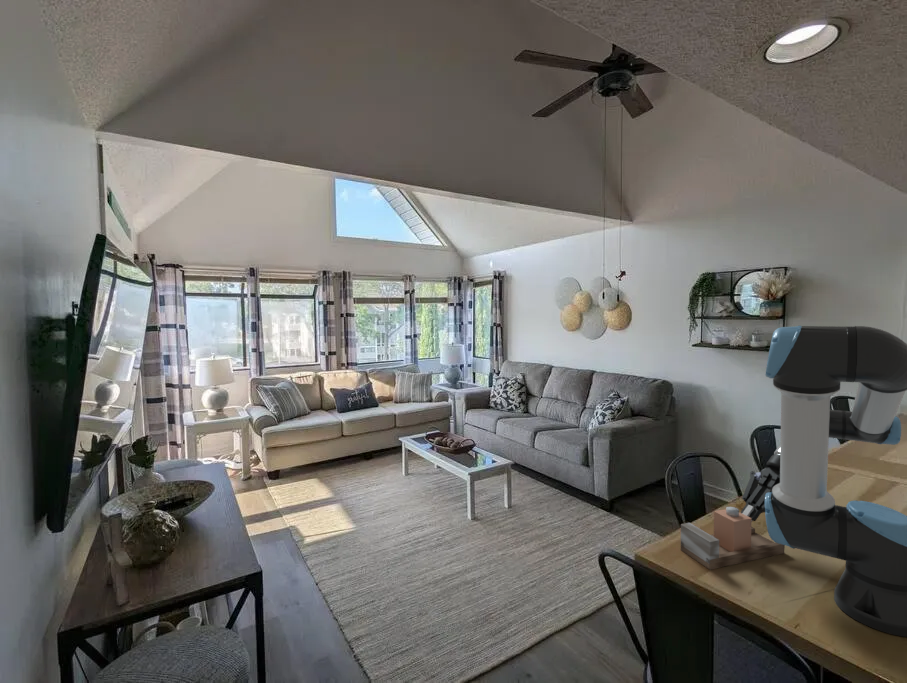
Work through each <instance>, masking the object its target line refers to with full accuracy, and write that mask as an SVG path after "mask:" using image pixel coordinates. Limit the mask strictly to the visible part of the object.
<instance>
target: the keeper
mask: <svg viewBox="0 0 907 683" xmlns="http://www.w3.org/2000/svg"><path fill="white" fill-rule="evenodd" d="M751 520H752V518H750V517H748V516H746V515H744V514H742V513H741V511H740V509H739V508H737V507H735V506H726V507H725V509H720V510H718V509H717V510H715V511H714V512H713V534H714V537H715V538H716V539H718V540H719V545H720V546H721V547H723V548H725V549H726V550H728V551H730V552H733V551H738V550H743V549H747V548H751V527H752V522H751Z"/></svg>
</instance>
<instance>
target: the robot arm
mask: <svg viewBox="0 0 907 683" xmlns="http://www.w3.org/2000/svg"><path fill="white" fill-rule="evenodd" d="M771 336H772V337H771V341H770V344H769V345H770V347H769V351H768V356H767V364H766V367H765V374H764V375H765V377H766V378H769V379H772V385H773V387H774V388H775V389H776V390H777V391H779V392H780V395H781V397H780V401H781V402H780V444H779V445H778V446H777V448H776V449H775V451H774V452H773V454H771V456H770V458H769V459H768V460H767V462H766V464H765V465H766V466H765V467H764V468H763V469H761V470H760V472H758V471H757V472H755V471H754V470H752V471H750V472H749V477H750V478H749V481H748V482H747V484H746V487H745V489H744V492H743V494H742V497H741V499H742V500H743V501H744V502H745V505H744V507H743V508H742V509H741V511H740V513H742V514H744V515H746V516H748V517H750V518H752V520H751V523H752V522H756V521H757V520H758V518H759V517H760V515H761V514H763V513H764V514H765V515H764V516H765V523H766V524H765V525H766V530H767V533H768V536H769V537H770V539H771V541H772V542H774V543H775V542H776V543H779V544H782V545H785V546H786V547H789V548H791V549H797V550H802V551H805V552H810V553H813V554H817V555H822V556H825V557H830V558H835V559H836V560H837V559H838V560H841V561H845V568H844V570H843V572H842V574H841V575H840V577H839V579H838V581H837V584H835V587H834V594H833V596H834V597H833V599H834V603H835V605H836V606H837V607H838V608H839V609H840V610H841V611H842V612H843V613H845V614H846V615H848V616H849V617H850V618H852V619H854V620H855V621H857V622H858V623H860V624H863V625H865V626H867V627H870V628H872V629H873V630H874V629H875V630H877V631H879V632H883V633H886V634H889V635H894V636H899V637H903V638H905V637H906V638H907V515H906V514H904V513H902V512H900V511H898V510H896V509H893V508H890V507H887V506H886V505H882V504H878V503H875V502H871V501H866V500H851V501H850V500H849V501H848V503H847V504H846V506H842V505H841V506H840V505H837V504H836V500H835V498H834V496H833V495H832V494H831V493H830V492H829V491H827V489H828V488H827V487H828V469H829V465H828V462H829V444H830V443H829V440H830V439H839V440H849V441H856V442H863V443H864V442H865V443H872V444H876V445H894V446H895V445H898V444H899V443H900V442H901V437H902V422H901V419H900V418H899V417H898V416H897V415H896V414H897V412H898V409H899V408H900V405H901V403H902V400H903V398H904V395H905V392H906V391H907V342H905V341H903V339H901V338H900V337H898V336H896V335H894V334H893V333H891V332H888V331H886V330H883V329H880V328H878V327H877V328H876V327H872V326H865V325H863V326H862V325H854V326H846V325H845V326H838V325H837V326H835V325H834V326H833V325H832V326H830V325H796V326H781V327H778V328H776V329H775V330H774V331H773V333H772V335H771ZM841 383H857V387H856V388H857V389H856V393H855V397H854V402H853V407H852V409H851V410H852V411H850V410H849V411H848V410H837V409H831V397H832V396H833V395H835V394H836V393H837V394H838V392H839V391H840V390H841ZM829 438H830V439H829Z"/></svg>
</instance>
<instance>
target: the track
mask: <svg viewBox="0 0 907 683" xmlns="http://www.w3.org/2000/svg"><path fill="white" fill-rule="evenodd" d="M785 546H786V545H782V544H779V543H776V542H774V541H773V540H770V539H768V538H767V537H764V536H763V535H761V534H759V533H757V532H756V528H755V527H753V526H751V548H747V549H743V550H738V551H733V552H730V551H728V550H726V549H725V548H723V547H721V546H720V545H719V540H718V539H716V538H715V537H714V533H713V534H709V533H708V532H706V531H704V530H703V529H701V528H700V527H698V526H696V525H694V524H692V523H691V522H685V523H681V524H680V551H681V552H683V553H685V554H686V555H687V556H689V557H690V558H692V559H693V560H695V561H696V562H698V563H699V564H701V565H702V566H703V567H705V568H706V569H708V570H714V569H718V568H723V567H728V566H733V565H737V564H742V563H747V562H751V561H755V560H759V559H764V558H768V557H774V556H778V555H782V554H785Z"/></svg>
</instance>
